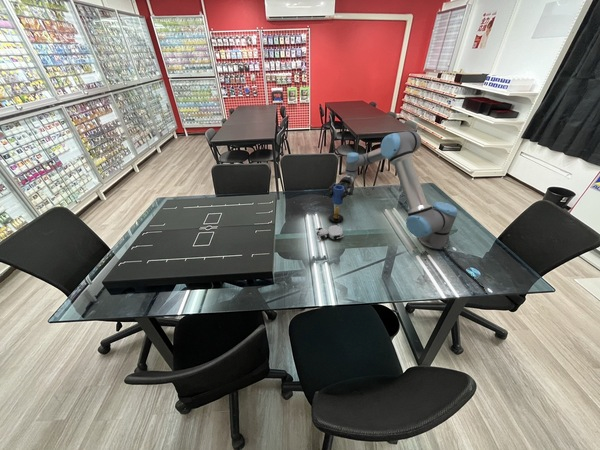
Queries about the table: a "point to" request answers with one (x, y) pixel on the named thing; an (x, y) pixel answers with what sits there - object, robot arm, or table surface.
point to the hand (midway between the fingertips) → (335, 197)
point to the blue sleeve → (337, 194)
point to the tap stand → (336, 217)
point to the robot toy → (330, 232)
